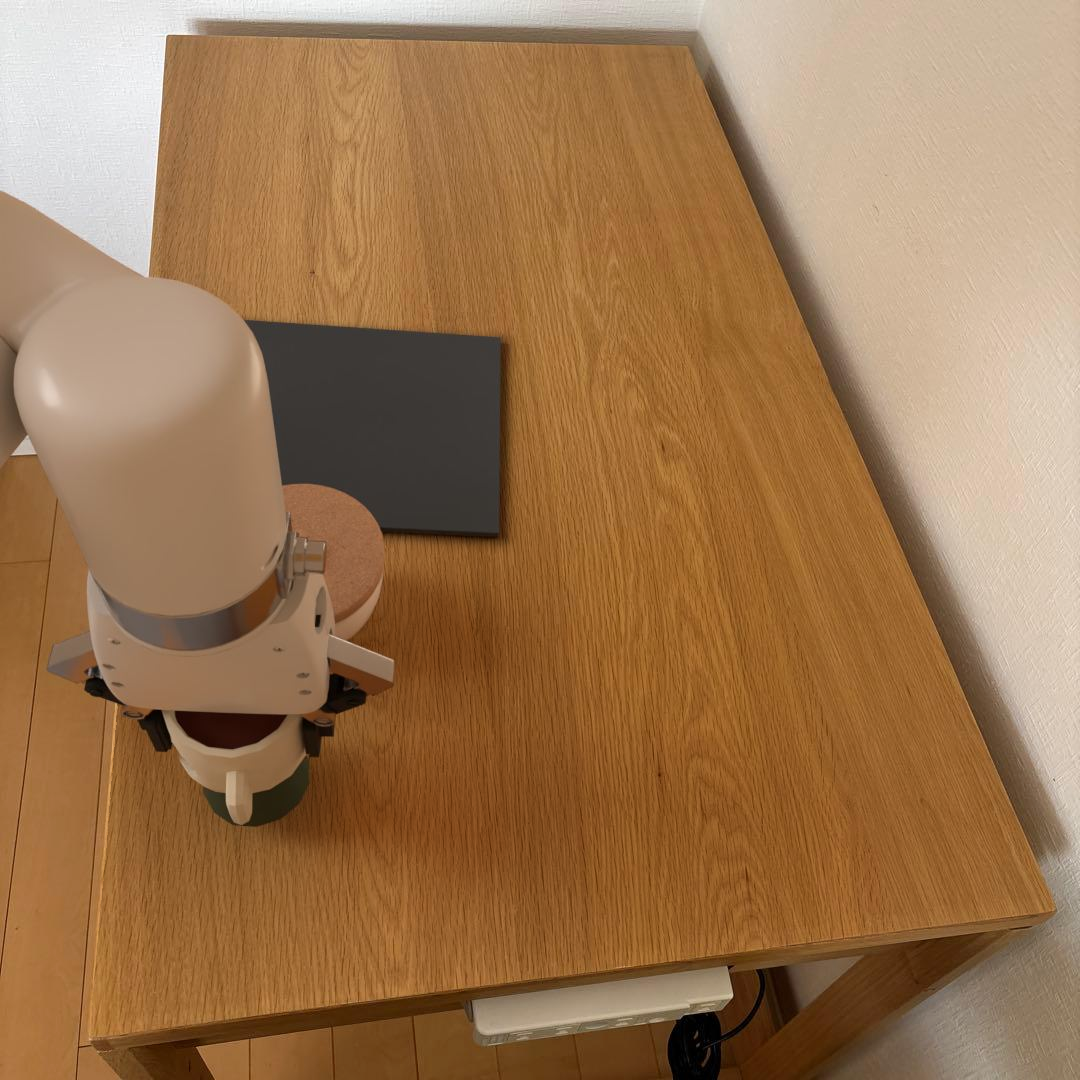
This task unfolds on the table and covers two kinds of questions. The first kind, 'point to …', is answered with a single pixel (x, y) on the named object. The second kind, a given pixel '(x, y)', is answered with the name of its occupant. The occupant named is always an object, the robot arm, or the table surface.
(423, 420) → the mat
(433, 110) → the table surface
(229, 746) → the character mug
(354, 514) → the trinket box
